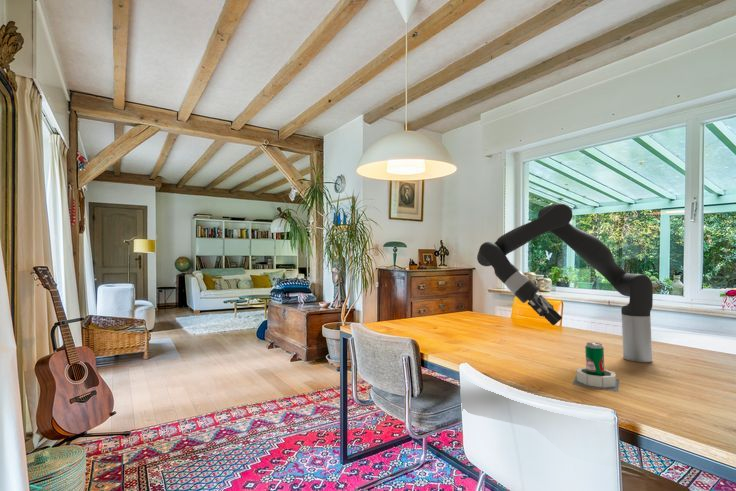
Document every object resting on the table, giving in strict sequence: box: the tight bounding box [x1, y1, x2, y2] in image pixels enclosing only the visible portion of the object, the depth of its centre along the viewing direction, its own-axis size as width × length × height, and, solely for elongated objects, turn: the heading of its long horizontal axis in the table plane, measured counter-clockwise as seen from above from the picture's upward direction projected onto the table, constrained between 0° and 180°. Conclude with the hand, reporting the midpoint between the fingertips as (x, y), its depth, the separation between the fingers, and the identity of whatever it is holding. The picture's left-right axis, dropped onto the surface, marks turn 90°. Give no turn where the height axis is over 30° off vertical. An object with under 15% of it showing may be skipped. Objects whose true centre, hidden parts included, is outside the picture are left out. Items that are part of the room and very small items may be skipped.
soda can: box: [584, 341, 605, 376], centre depth 121 cm, size 5×5×12 cm
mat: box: [572, 374, 620, 393], centre depth 120 cm, size 14×12×1 cm
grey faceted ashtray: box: [576, 367, 617, 388], centre depth 120 cm, size 10×10×3 cm
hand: (558, 321), depth 127 cm, fingers open, 8 cm apart
